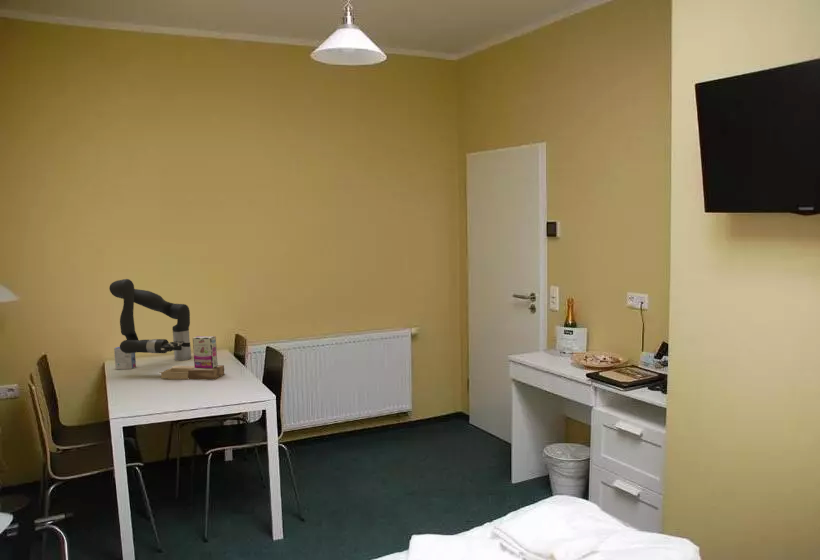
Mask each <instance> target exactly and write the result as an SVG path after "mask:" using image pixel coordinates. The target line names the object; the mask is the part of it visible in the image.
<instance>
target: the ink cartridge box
mask: <svg viewBox="0 0 820 560" xmlns="http://www.w3.org/2000/svg"><path fill="white" fill-rule="evenodd" d="M113 351H114V354H113V355H114V364H115V365H114V367H115V370H132V368H133V369H134V367H135V368H136V367H137V361H136V353H124V352H122V351H121V349H120V346H117V347H114V349H113Z"/></svg>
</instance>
